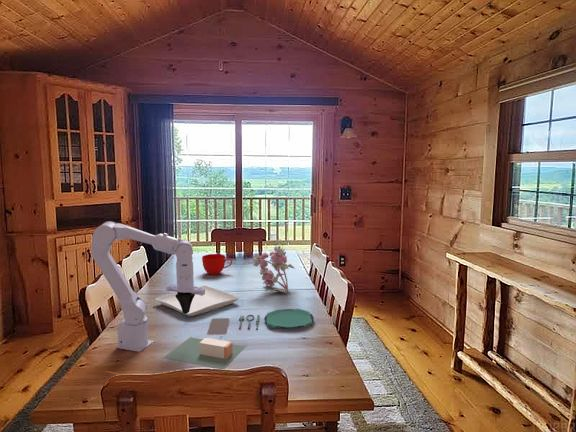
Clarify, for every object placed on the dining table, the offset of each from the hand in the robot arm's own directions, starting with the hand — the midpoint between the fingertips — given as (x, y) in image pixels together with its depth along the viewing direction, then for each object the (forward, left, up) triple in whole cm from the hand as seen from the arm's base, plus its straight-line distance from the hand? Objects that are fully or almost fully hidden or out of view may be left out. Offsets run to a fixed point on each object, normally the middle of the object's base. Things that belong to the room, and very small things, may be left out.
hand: (186, 312), depth 139 cm
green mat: (+11, -6, -10) cm, 16 cm away
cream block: (+10, -6, -8) cm, 14 cm away
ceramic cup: (-32, +80, -11) cm, 87 cm away
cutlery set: (+24, +27, -11) cm, 38 cm away
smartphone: (+5, +14, -11) cm, 18 cm away
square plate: (-16, +33, -11) cm, 38 cm away
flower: (+8, +64, -11) cm, 65 cm away
